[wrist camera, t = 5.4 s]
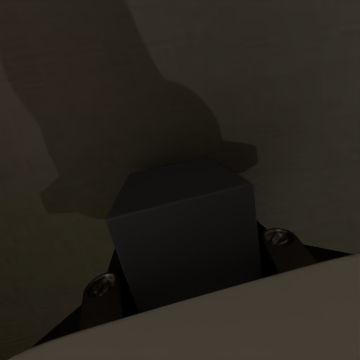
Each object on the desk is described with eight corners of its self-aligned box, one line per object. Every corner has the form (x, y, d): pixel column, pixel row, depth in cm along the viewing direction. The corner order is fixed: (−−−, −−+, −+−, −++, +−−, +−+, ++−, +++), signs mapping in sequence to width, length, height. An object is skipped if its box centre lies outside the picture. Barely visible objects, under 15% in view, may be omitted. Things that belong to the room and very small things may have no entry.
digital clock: (129, 174, 11) (103, 219, 5) (205, 156, 11) (254, 182, 6) (162, 286, 13) (168, 397, 8) (224, 269, 13) (271, 364, 8)
